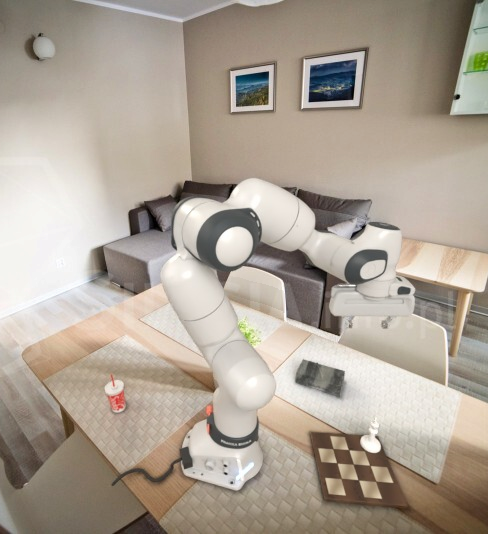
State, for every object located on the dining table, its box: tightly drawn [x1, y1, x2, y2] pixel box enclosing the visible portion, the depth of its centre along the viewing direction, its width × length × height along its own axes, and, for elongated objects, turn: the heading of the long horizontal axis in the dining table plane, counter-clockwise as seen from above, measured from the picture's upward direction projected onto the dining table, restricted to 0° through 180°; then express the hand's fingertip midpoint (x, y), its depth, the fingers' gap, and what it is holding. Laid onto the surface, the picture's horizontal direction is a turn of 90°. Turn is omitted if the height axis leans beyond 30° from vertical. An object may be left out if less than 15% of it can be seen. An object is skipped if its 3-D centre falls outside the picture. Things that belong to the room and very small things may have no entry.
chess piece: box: [360, 417, 381, 453], centre depth 86 cm, size 5×5×10 cm
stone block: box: [295, 358, 346, 398], centre depth 111 cm, size 9×14×5 cm, turn 57°
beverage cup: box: [104, 374, 127, 414], centre depth 106 cm, size 6×6×14 cm
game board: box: [309, 431, 408, 510], centre depth 84 cm, size 18×18×1 cm
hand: (366, 327), depth 90 cm, fingers open, 8 cm apart
